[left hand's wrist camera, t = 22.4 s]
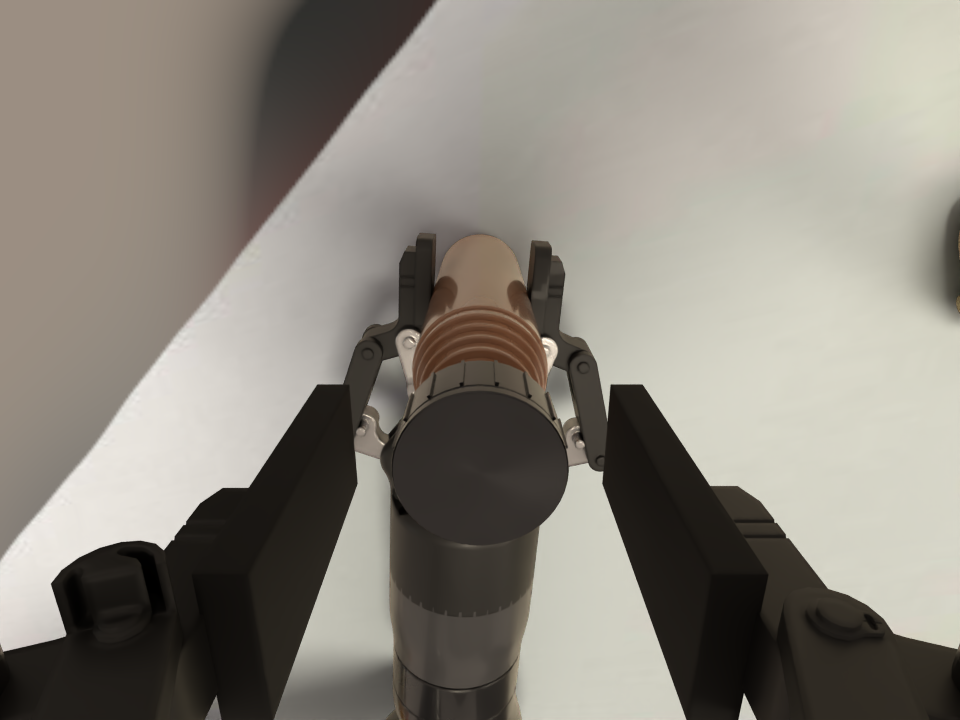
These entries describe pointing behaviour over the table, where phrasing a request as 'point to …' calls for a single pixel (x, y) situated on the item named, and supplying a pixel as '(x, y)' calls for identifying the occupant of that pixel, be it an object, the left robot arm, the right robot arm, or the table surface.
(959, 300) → the sculpture
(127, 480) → the table surface
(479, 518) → the cap
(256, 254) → the table surface
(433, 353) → the bottle
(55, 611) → the table surface
